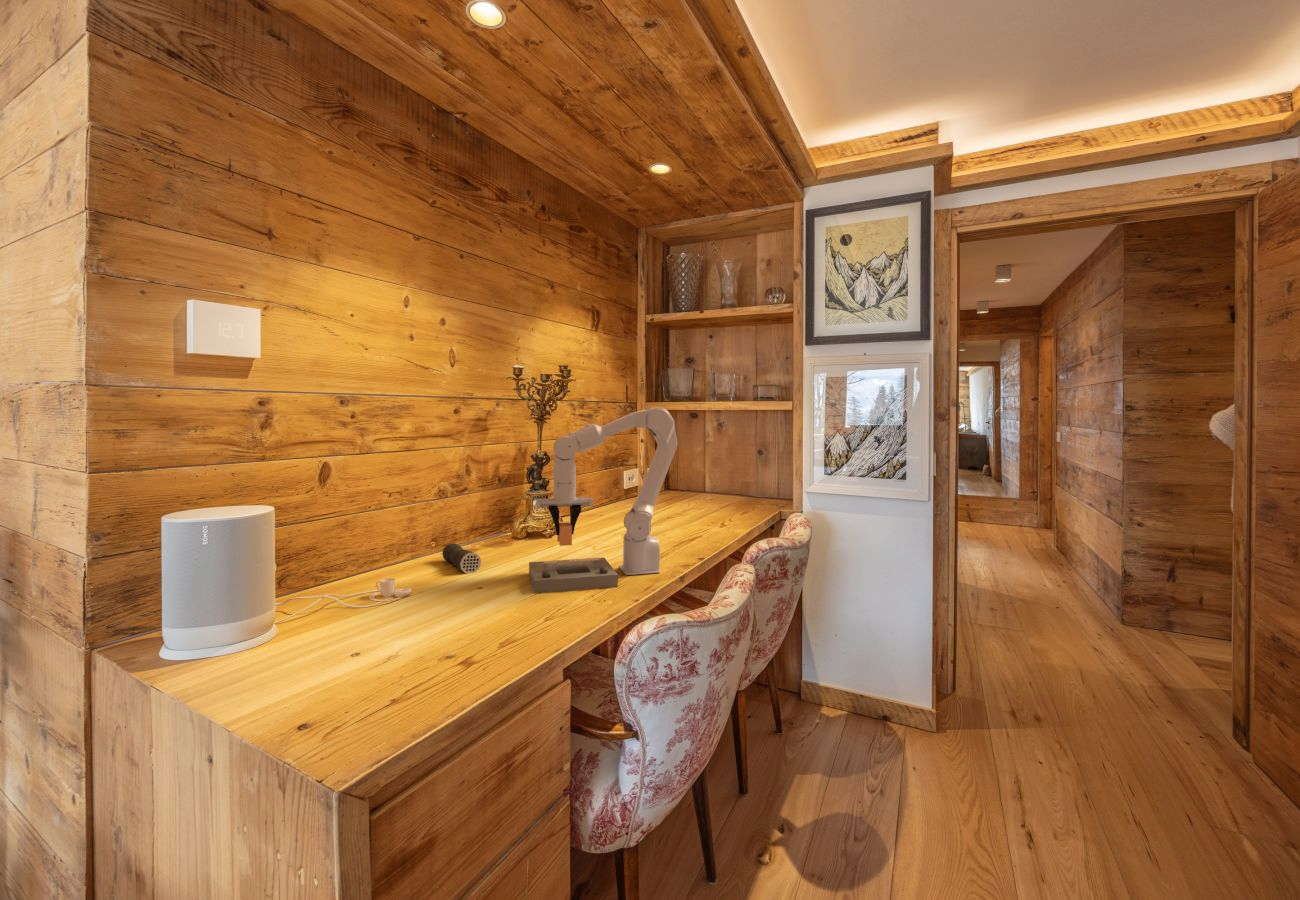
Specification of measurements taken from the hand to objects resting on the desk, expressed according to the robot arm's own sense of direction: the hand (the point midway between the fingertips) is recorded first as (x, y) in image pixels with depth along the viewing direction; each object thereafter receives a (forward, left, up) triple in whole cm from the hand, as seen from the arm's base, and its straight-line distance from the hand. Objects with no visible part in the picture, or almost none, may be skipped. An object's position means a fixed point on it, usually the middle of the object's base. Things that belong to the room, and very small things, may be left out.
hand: (564, 534), depth 148 cm
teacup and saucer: (+41, +11, -11) cm, 44 cm away
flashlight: (+26, -12, -11) cm, 31 cm away
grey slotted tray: (-1, +6, -10) cm, 12 cm away
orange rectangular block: (0, 0, -2) cm, 2 cm away
